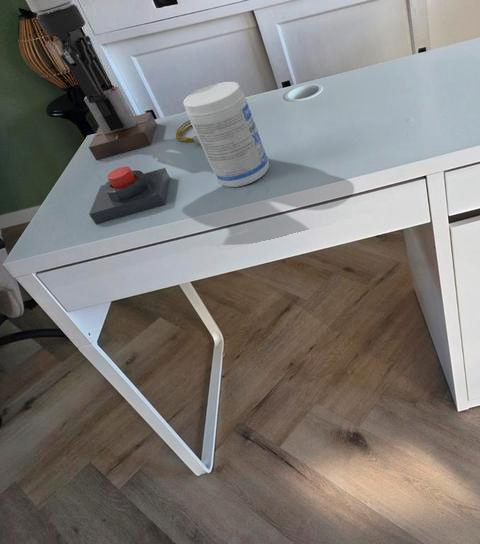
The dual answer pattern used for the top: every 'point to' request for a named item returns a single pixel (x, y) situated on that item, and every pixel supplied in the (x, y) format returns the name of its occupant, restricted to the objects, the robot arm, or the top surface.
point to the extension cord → (194, 139)
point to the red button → (121, 177)
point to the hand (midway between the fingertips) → (118, 125)
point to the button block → (131, 196)
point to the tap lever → (120, 108)
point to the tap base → (124, 138)
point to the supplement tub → (227, 133)
